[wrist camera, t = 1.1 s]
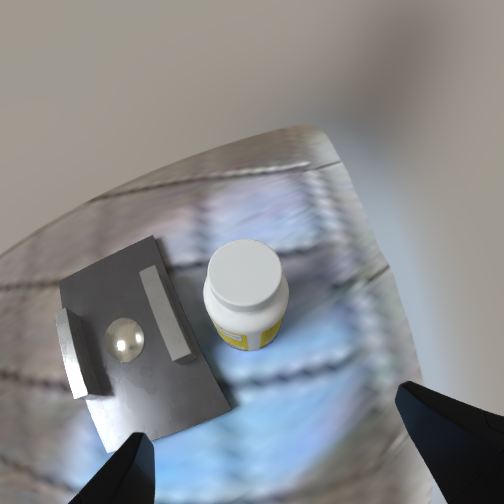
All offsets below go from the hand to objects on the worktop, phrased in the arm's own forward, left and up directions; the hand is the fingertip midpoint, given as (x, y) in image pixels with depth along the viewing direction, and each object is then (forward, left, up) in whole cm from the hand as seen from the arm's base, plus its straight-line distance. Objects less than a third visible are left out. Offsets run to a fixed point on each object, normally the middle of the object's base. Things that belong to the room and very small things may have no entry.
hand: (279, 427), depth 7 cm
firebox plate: (+8, +10, -13) cm, 19 cm away
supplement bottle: (+8, -1, -13) cm, 15 cm away
